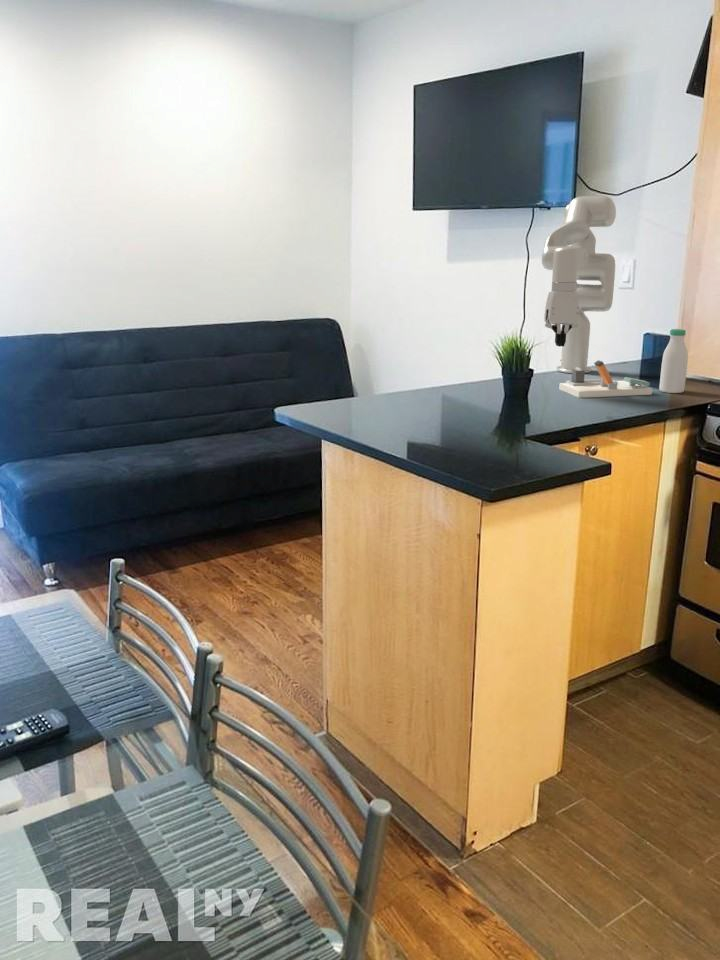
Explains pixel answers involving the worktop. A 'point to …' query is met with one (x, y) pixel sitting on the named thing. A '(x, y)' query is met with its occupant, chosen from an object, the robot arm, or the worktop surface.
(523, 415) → the worktop surface
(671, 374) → the milk bottle
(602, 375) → the lever
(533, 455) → the worktop surface
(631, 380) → the rocker
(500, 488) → the worktop surface
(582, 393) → the panel
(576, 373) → the slider
